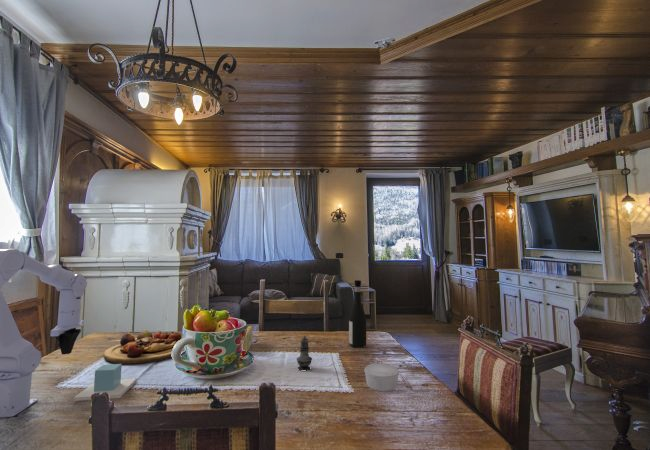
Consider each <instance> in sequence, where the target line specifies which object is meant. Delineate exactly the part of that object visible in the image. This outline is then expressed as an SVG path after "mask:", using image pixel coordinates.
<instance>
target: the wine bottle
mask: <svg viewBox="0 0 650 450" xmlns="http://www.w3.org/2000/svg"><path fill="white" fill-rule="evenodd" d="M361 289H362V280H357V279H356V280H354V303H353V306H352V309H351V311H350V313H349V318H348V319H349V320H348V344H349V346H350V347H351V348H355V347H362V348H365V347H366V346H367V317H366V313H365V311H364V310H365V309H364V308H363V304H362V300H361V299H362V298H361V294H362V293H361V292H362V291H361ZM364 346H365V347H364Z"/></svg>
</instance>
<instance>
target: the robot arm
mask: <svg viewBox="0 0 650 450" xmlns="http://www.w3.org/2000/svg"><path fill="white" fill-rule="evenodd" d="M19 271H24V272H27V273H29V274H33V275H34V276H35V275H36V276H37V277H39V280H40V281H41V282H42V283H44V284H47V285H49V286H53V287H55V289H56V291H57V292H59V300H58V315H57V325H56V326H55V327H54V328H53V329H51V330H50V337H54V338H55V339H56V340H57V342H58V345H59V348H60V353H61V355H70V354H72V351H73V349H74V345H75V343H76V340H77V338H78V337H79V335H80V333H82V332H81V331H82V329H81V328H82V327H83V326H84V325H85V320H84V319H81V308H82V297H83V296H84V292H85V289H86V288H87V287H88V282H87V279H86V277H85V276H84V275H83V274H75V273H74V272H73V271H72V270H67V269H65V268H63V266H62V264H59V263H57V264H50V265H47V264H45V263H43V262H41V261H38V259H35V258H34V257H32V256H30V255H28V253H27V252H25V251H20V249H16V248H8V249H6V248H4V249H3V248H0V418H12V417H15V416H16V415H18V414H19V413H20V412H23V410H25V409H27V408H28V407H30V406H31V405H33V404H35V403H36V402H38V401H39V399H38V398H31V393H32V392H31V389H32V376H33V373H35V371H36V370H37V368H38V367H39V366H40V364H41V361H42V353H41V351H40V350H39V349H37V348H36V347H34V344H33V343H32V342H30V341H28V340H27V339H25V338H23V337H22V334H21V333H20V330H19V328H18V325H17V323H16V322H15V319H14V316H13V314H12V312H11V310H10V307H9V305H8V303H7V300H6V299H5V298H6V297H5V296H4V294H3V291H2V290H1V289H2V288H3V286H4V285H6V284H7V283H8V282H9V281H10V280H12V278H14V276H15V275H16V274H17V273H18V272H19Z"/></svg>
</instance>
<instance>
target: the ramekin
mask: <svg viewBox="0 0 650 450" xmlns="http://www.w3.org/2000/svg"><path fill="white" fill-rule="evenodd" d="M363 372H364V374H365V380H366V384H367V386H368V387H369V388H370V389H371V390H374V391H378V392H391V391H393V390H395V389H396V388H397V386H398V380H399V375H400V370H399V369H398V368H397V367H396V366H394V365H391V364H387V363H371V364H368V365H366V366H365V367H364V371H363Z"/></svg>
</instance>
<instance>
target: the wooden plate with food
mask: <svg viewBox="0 0 650 450" xmlns="http://www.w3.org/2000/svg"><path fill="white" fill-rule="evenodd" d="M180 339H181V340H182V335H181V333H179V332H175V333H174V332H173V331H171V333H169V334H168V332H162V331H161V330H160V331H157V332H155V334H153V333H152V332H151V331H149V330H147V329H145V330H143V331H141V332H139V334H138V335H137V337H136V338H135V336H134V335H133V333H130V332H126V333H125V334H123V335H122V336H121V338H120V340H119V341H120V342H119V343H120V344H116V345H114V346H111V347H109V348H107V349H106V350H105V351H104V353H103V359H104V360H106V361H108V362H110V363H114V364H124V365H125V364H133V365H135V364H146V363H154V362H160V361H165V360H168V358H169V359H172V358H171V351H172V348H173V346H174V344H175V343H176V342H177V341H178V340H180Z"/></svg>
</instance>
